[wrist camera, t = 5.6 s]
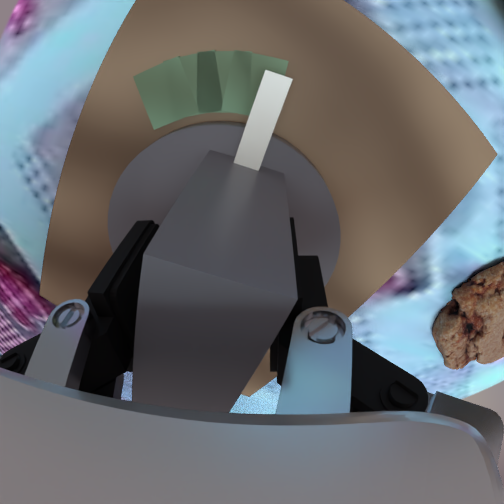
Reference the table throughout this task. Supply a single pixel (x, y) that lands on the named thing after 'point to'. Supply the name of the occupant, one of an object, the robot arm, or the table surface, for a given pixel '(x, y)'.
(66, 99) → the table surface
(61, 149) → the table surface
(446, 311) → the cookie
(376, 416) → the robot arm
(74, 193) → the wooden board
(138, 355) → the tuning knob
